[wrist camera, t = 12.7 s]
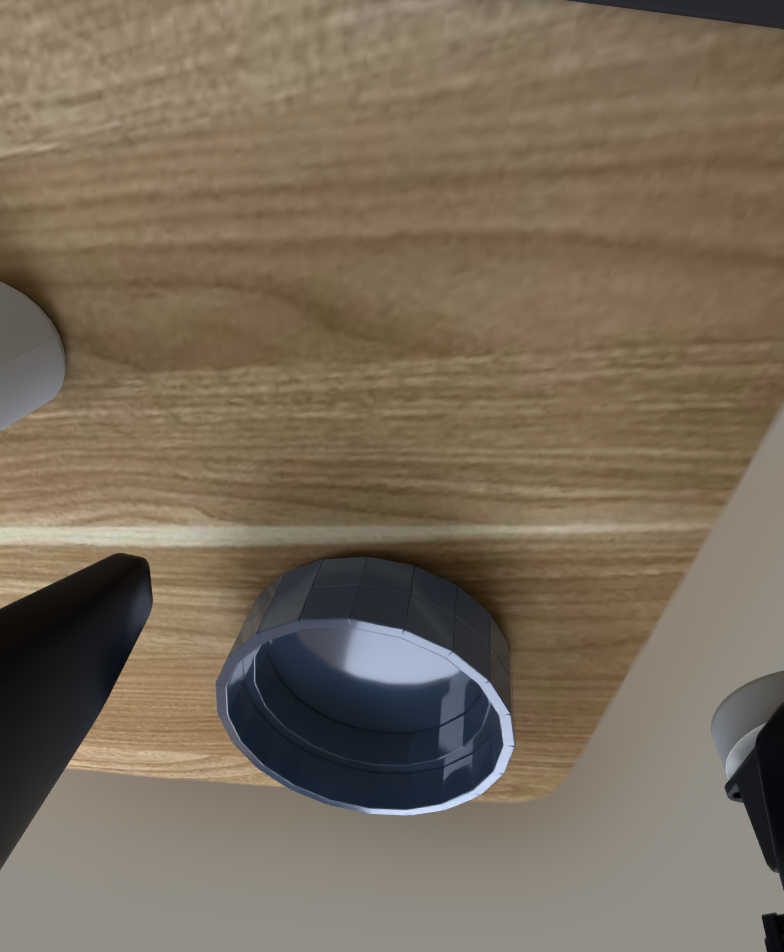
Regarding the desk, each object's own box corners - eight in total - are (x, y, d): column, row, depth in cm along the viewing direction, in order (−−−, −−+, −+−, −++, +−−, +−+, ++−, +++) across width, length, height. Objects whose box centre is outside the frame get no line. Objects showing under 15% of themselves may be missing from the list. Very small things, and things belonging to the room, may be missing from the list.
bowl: (541, 581, 23) (550, 658, 20) (480, 757, 30) (479, 838, 26) (249, 524, 24) (209, 590, 20) (251, 709, 30) (220, 781, 27)
